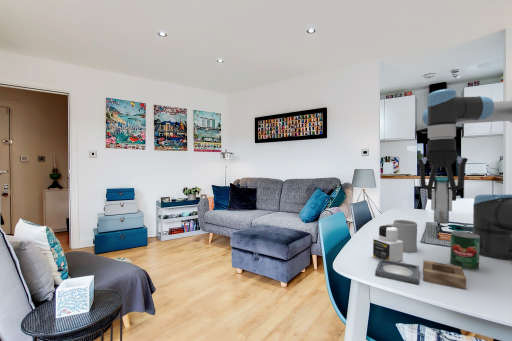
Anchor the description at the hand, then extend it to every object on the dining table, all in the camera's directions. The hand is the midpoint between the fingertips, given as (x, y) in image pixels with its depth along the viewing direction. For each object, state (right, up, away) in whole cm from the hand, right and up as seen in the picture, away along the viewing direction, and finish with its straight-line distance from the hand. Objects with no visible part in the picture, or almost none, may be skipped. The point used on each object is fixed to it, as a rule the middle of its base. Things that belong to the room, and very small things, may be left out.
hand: (441, 209), depth 87 cm
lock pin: (0, -4, 0) cm, 4 cm away
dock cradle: (-16, -20, -2) cm, 25 cm away
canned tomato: (+10, -20, +4) cm, 23 cm away
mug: (-2, -19, +22) cm, 29 cm away
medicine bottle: (-13, -20, +10) cm, 26 cm away
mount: (-4, -20, -6) cm, 21 cm away
